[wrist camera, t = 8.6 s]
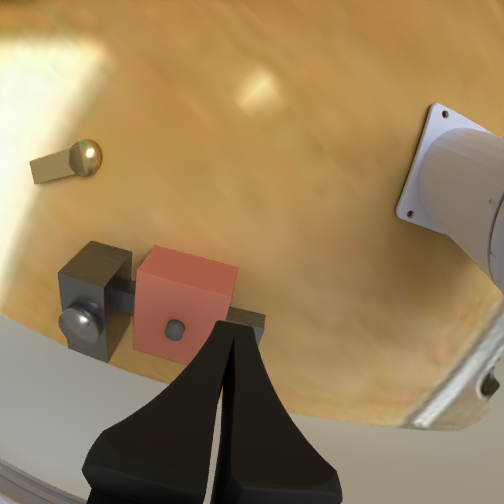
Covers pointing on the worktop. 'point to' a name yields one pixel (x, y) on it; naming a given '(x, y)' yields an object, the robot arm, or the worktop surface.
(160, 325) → the lock
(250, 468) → the robot arm
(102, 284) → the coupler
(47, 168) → the key
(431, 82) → the worktop surface
